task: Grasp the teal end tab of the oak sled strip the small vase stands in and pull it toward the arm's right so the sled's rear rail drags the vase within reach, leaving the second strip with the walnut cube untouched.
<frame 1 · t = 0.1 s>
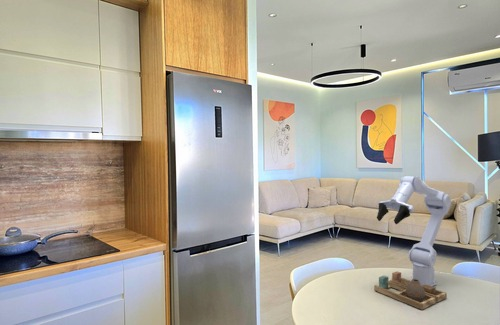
hand: (386, 220, 127), 32 cm above the table, tool tilted 50°, fingers open, 7 cm apart
sled b: (416, 285, 135), point 3 cm above the table, slide at 0.0 cm
sled a: (403, 290, 129), point 3 cm above the table, slide at 0.0 cm
walnut cube: (428, 296, 131), resting in sled b
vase: (415, 302, 125), resting in sled a
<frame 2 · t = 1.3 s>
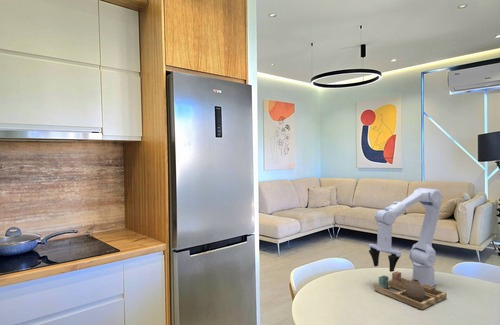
hand: (383, 268, 137), 9 cm above the table, tool pointing down, fingers open, 7 cm apart
nothing on the table moved.
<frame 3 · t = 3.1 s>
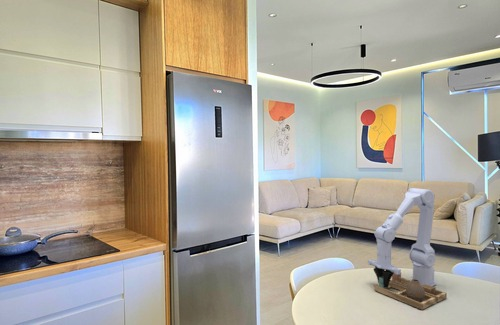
hand: (383, 285, 137), 2 cm above the table, tool pointing down, fingers closed on sled a, 2 cm apart
sled a: (403, 290, 129), point 3 cm above the table, slide at 0.0 cm, touching gripper
everything else where it was.
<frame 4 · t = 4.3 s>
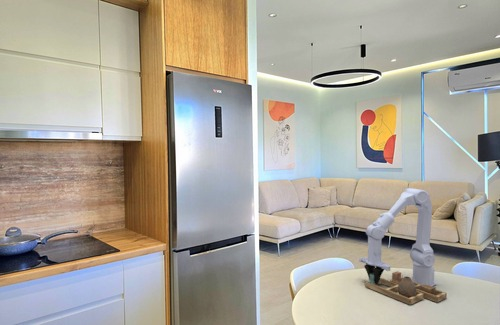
hand: (374, 282, 141), 2 cm above the table, tool pointing down, fingers closed
sled a: (393, 286, 133), point 3 cm above the table, slide at 4.6 cm, touching gripper, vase
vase: (406, 299, 128), resting in sled a
everything else where it was.
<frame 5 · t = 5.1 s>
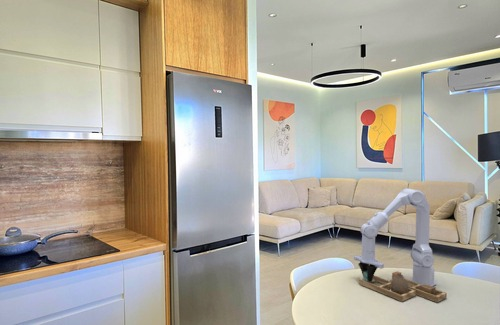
hand: (367, 279, 144), 2 cm above the table, tool pointing down, fingers closed on sled a, 2 cm apart
sled a: (386, 283, 136), point 3 cm above the table, slide at 8.0 cm, touching gripper, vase
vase: (399, 296, 131), resting in sled a
everything else where it was.
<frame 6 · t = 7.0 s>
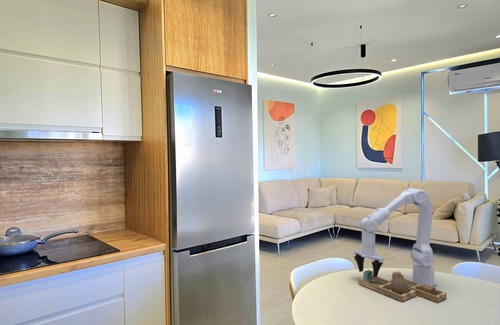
hand: (368, 273, 144), 4 cm above the table, tool pointing down, fingers open, 7 cm apart
sled a: (386, 283, 136), point 3 cm above the table, slide at 7.9 cm
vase: (399, 296, 131), resting in sled a
everything else where it was.
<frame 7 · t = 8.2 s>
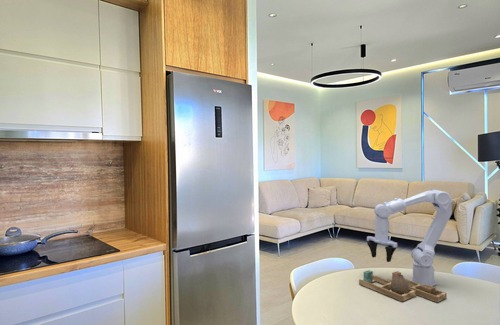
hand: (381, 259, 146), 10 cm above the table, tool pointing down, fingers open, 7 cm apart
sled a: (386, 283, 136), point 3 cm above the table, slide at 7.8 cm, touching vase
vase: (399, 296, 131), resting in sled a
everything else where it was.
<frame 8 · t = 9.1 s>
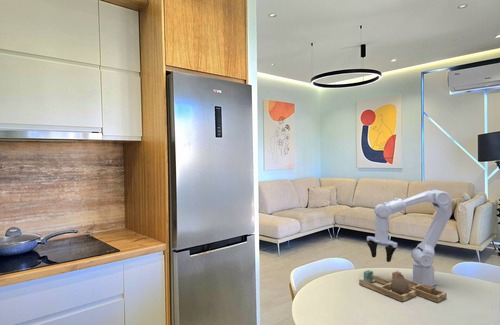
hand: (381, 259, 146), 10 cm above the table, tool pointing down, fingers open, 7 cm apart
sled a: (386, 283, 136), point 3 cm above the table, slide at 7.8 cm
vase: (399, 296, 131), resting in sled a
everything else where it was.
at the end: sled a slide at 7.8 cm; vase inside the target area (2.1 cm from its centre), resting in sled a; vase tilted 0° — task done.
